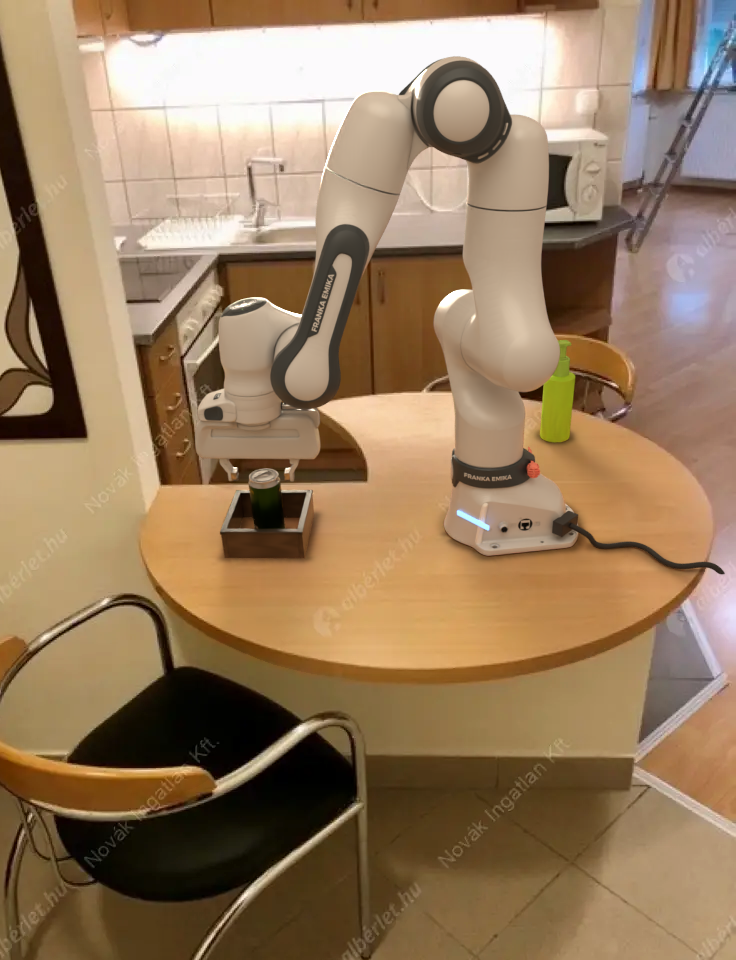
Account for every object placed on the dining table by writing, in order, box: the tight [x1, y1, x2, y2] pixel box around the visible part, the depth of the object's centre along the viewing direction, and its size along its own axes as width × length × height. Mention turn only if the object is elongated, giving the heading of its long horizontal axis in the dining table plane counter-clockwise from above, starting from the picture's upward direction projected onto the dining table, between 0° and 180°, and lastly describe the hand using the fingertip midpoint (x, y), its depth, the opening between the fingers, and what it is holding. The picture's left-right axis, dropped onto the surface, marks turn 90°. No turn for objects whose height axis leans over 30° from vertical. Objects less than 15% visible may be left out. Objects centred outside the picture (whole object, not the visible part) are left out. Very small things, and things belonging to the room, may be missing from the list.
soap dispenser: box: [539, 339, 576, 443], centre depth 169 cm, size 6×7×20 cm
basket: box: [219, 489, 315, 559], centre depth 147 cm, size 14×14×5 cm
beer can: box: [247, 468, 287, 529], centre depth 145 cm, size 5×5×12 cm
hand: (261, 479), depth 143 cm, fingers open, 8 cm apart
